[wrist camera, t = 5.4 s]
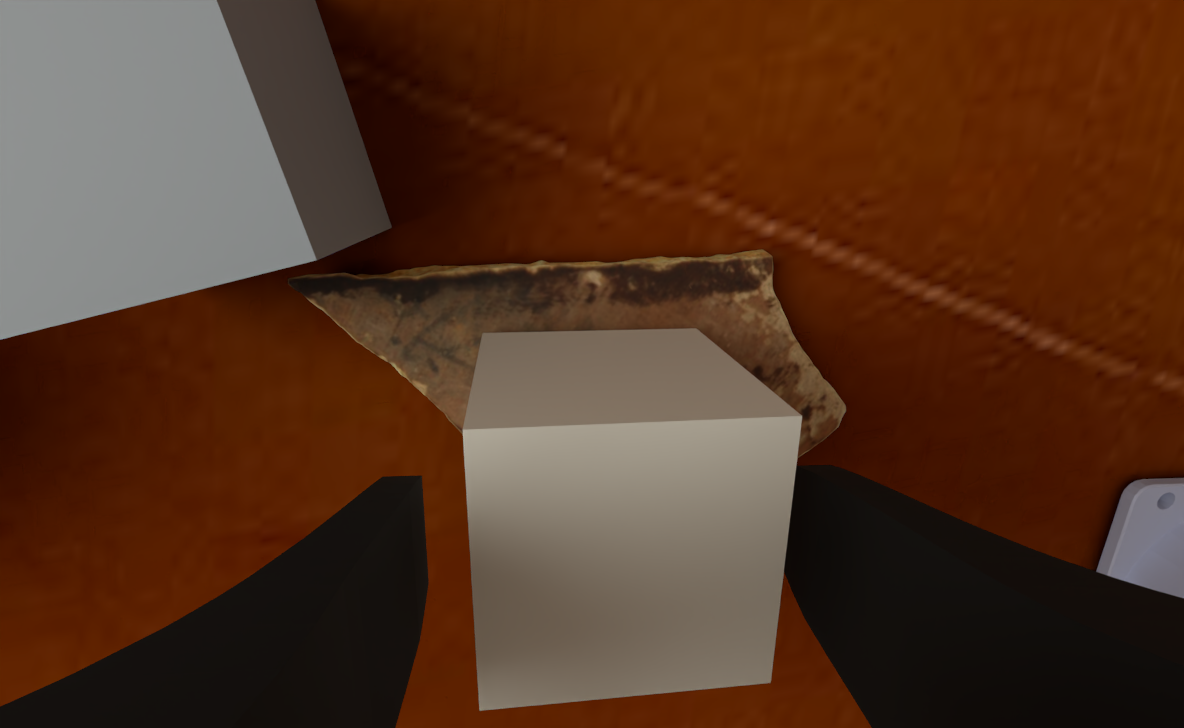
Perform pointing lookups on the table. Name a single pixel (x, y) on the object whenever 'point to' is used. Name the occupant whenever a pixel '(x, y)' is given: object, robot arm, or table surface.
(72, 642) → the table surface
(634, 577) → the cream block
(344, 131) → the slate block
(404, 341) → the shard
